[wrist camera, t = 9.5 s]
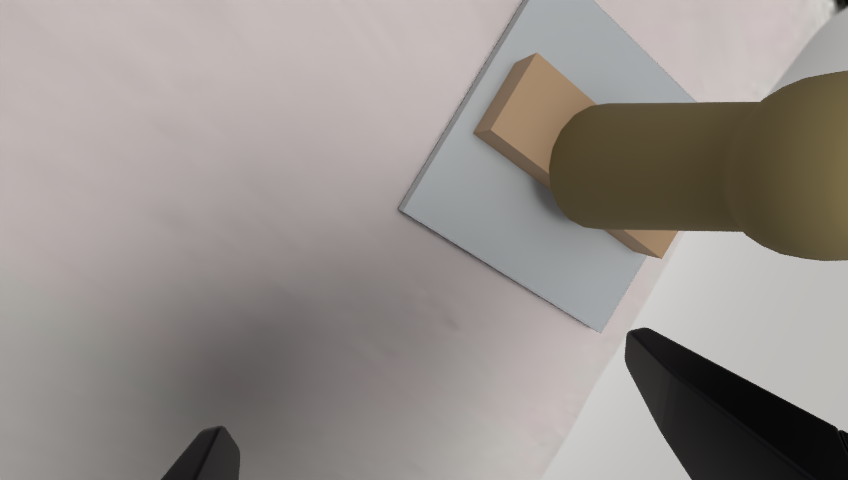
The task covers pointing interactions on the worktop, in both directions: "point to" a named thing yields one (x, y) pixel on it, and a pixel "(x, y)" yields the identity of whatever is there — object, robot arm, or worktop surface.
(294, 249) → the worktop surface
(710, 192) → the olive pepper mill
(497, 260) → the ridge board
